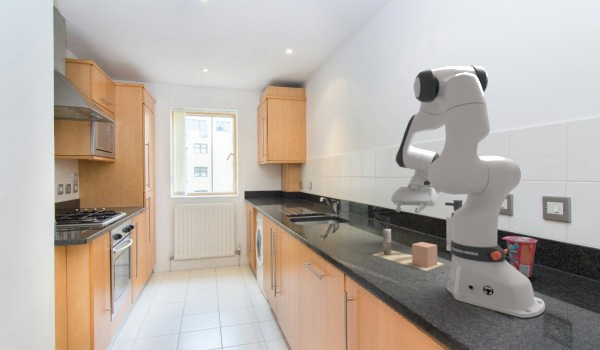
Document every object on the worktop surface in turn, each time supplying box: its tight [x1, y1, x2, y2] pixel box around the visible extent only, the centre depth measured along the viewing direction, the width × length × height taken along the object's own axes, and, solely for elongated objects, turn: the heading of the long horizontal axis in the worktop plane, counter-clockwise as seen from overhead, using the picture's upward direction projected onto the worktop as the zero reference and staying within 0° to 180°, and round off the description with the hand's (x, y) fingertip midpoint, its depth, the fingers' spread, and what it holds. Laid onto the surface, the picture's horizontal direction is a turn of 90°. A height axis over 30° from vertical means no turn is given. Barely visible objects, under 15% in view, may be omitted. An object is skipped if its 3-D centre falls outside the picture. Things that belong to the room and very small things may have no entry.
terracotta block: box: [411, 241, 438, 268], centre depth 104 cm, size 6×6×7 cm
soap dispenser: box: [444, 199, 464, 252], centre depth 127 cm, size 6×9×22 cm
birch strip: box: [372, 228, 446, 272], centre depth 111 cm, size 24×12×11 cm, turn 34°
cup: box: [501, 235, 538, 278], centre depth 97 cm, size 9×8×12 cm
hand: (406, 211), depth 125 cm, fingers open, 8 cm apart
